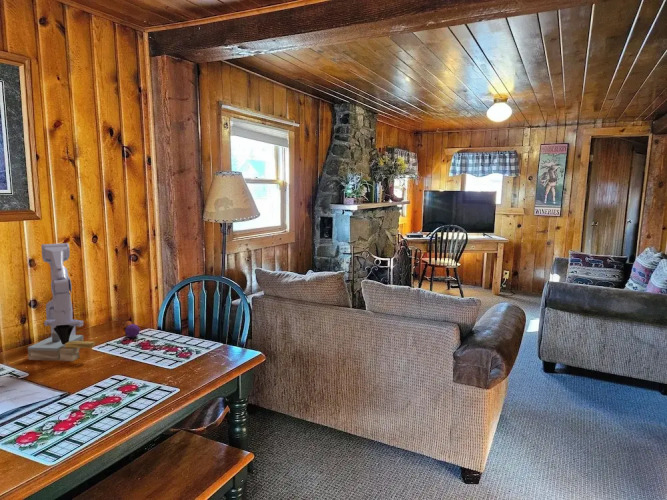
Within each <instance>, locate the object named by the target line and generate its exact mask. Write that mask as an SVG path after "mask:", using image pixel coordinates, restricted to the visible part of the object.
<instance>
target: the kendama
mask: <svg viewBox="0 0 667 500" xmlns="http://www.w3.org/2000/svg"><path fill="white" fill-rule="evenodd" d="M124 327H125V330H124V333H125V335H126V336H127V337H128V338H135V337H138V335H139V334H140V331H141V330H140V327H139V326H138V324H135V323H133V322H132V321H131V320H127V321H125V322H124Z"/></svg>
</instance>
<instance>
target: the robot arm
mask: <svg viewBox="0 0 667 500" xmlns="http://www.w3.org/2000/svg"><path fill="white" fill-rule="evenodd" d="M40 247H41V258H42V261H43V262H44V263H47V264H48V265H49V267H50V279H51V282H50V289H51V290H50V291H51V294H52V299H51V300H49V301H48V302H47V303H46V304H45V313H46V314H45V315H46V316H45V318H46V320H44V322H43V324H44V327H47V326H50V337H52V333H53V332H56V333H57V334H58V336H59V338H60V340H61V343H62V344H65V343H67V342H69V338H70V335H77V334H76V327H79V328H81V327H83V326H84V320H80V319H79V320H78V319H74V318H73V317H74V312H73V304H72V298H71V297H72V296H71V295H72V291H73V290H72V289H73V288H72V287H73V286H72V280H71V278H70V276H69V272H68V268H67V267H66V266H64V262H66V261H67V262H68V260H69V259H70V256H71V255H70V244H69V243H68V242H64V243H47V244H46V243H42V244H41V246H40Z"/></svg>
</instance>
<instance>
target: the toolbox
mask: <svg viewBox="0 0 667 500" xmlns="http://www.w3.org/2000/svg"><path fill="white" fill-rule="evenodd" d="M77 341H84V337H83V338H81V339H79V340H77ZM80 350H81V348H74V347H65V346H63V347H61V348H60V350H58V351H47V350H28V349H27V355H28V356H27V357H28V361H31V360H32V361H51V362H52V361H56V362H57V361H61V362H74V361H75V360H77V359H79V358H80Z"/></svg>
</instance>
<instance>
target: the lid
mask: <svg viewBox="0 0 667 500" xmlns="http://www.w3.org/2000/svg"><path fill="white" fill-rule="evenodd" d="M81 338H83V339H84V335H81V334H76V335H70V338H69V341H77V340H79V339H81ZM63 346H65V344H62V343H61V340H60V338H59V336H58V334H57V333H56V332H53V333H52V337H51V336H49V337H48V338H45V339H43V340H41V341H38V342H36V343H35V344H32V345H29V346H27V351H28V350H47V351H58V350H60V348H61V347H63Z"/></svg>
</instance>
